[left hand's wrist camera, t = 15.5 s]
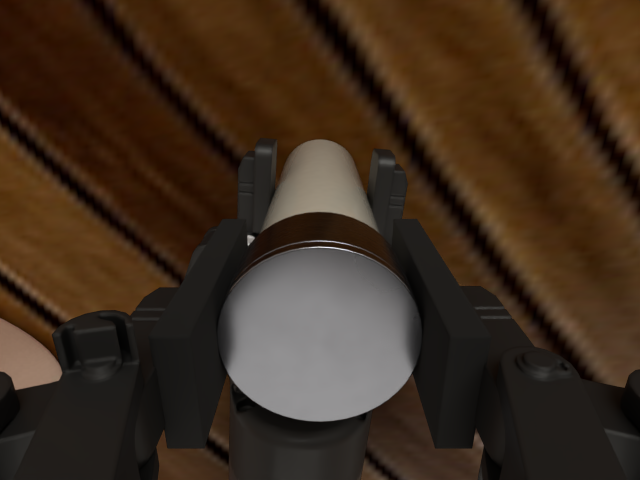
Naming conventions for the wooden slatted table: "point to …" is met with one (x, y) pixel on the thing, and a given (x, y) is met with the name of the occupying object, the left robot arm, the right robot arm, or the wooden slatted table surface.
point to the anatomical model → (26, 358)
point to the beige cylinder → (319, 185)
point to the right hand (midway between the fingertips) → (324, 148)
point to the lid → (319, 319)
